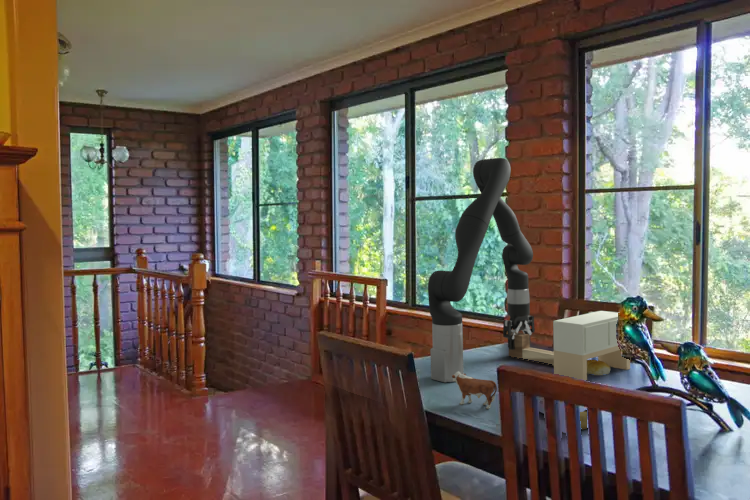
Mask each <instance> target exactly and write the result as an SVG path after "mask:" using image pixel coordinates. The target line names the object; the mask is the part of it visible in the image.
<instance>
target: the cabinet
mask: <svg viewBox="0 0 750 500" xmlns="http://www.w3.org/2000/svg"><path fill="white" fill-rule="evenodd" d="M618 313H619V312H617V311H606V310H597V311H593V312H590V313H589V312H588V313H584V314H579V315H575V316H570V317H565V318H562V319H561V318H560V319H557V320H553V321H552V323H553V326H552V327H553V328H552V329H553V352H554V365H553V375H554V374H559V375H564V376H569V377H574V378H577V379H583V380H587V381H588V374H587V360H591V359H594V358H596V357H597V361H603V362H605V363H606V364H608V365H609V367H610V368H615V369H619V370H620V369H621V370H625V371H626V370H630V369H631V359H630V360H629V359H626V358H624V357H622V356H621V353H620V349H619V347H618V344H617V339H616V324H617V320H618Z"/></svg>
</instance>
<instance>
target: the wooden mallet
mask: <svg viewBox="0 0 750 500" xmlns="http://www.w3.org/2000/svg"><path fill="white" fill-rule="evenodd" d="M512 334H513V333H512ZM512 334H511V335H512ZM514 339H515V349H514V350H510V349H509V348H508V357H509V356H511V357H510V358H514V357H517V358H516V359H519V358H523V359H522V360H524V359H528V360H527V361H529V360H534V361H539V362H544V363H548V364H547V365H549V364H552V365H551V366H554V351H551V350H546V349H541V348H535V347H531V335H530V336H529V334H524V333H522V332H518V333H517V334H516V335H515V338H514ZM534 361H533V362H534ZM539 362H538V363H539ZM544 363H543V364H544Z"/></svg>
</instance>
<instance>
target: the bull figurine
mask: <svg viewBox="0 0 750 500" xmlns="http://www.w3.org/2000/svg"><path fill="white" fill-rule="evenodd" d="M452 378H453V381H455V383H456V384H457V386H458V389H459V391H460V393H461V400H460V402H459V403H458V404H459V405H460V406H462V405H464V404H465V399H466V397H467V398H468V400H467V403H468V404H470V403H473V399H472V396H477V398H478V399H480V398H481V397H482V396H483V395H484V396H485V397H486V399H485V401H484V402H483V403H482V405H483V406H486V408H485V409H486V410H489V409H490V408H491V407H492V403H493V402H494V400H495V398H496V393H497V391H498V387H497V383H496V382H495V381H494V380H491V379H480V378H474V377H471V376H467V374H466V373H463V374H461V373H460V372H459V371H458V372H456V373H455V374H454V375H452Z"/></svg>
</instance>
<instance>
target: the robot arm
mask: <svg viewBox="0 0 750 500" xmlns="http://www.w3.org/2000/svg"><path fill="white" fill-rule="evenodd" d="M511 169H512V168H511V163H510V162H509V160H508V159H506V158H503V157H495V158H484V159H479V160H478V161H476V162H475V164H474V165H473V169H472V175H473V179H474V182H475V184H476V186H477V188H478V190H479V192H480V194H479V195H478V196H477V197H476V198H475V200H473V201H472V202H471V203H470V204H469V205H468V206H467V207H466V208H465V209H464V211H463V212H462V213H461V215H460V217H459V220H458V221H457V225H456V228H455V231H454V238H455V244H456V248H457V258H456V261H455V264H454V266H453V268H452V270H435V271H433V272H432V273H431V274H430V277H429V279H428V284H427V295H428V309H429V315H430V317H431V323H432V324H431V325H432V327H431V329H432V334H431V335H432V348H430V352H429V353H430V379H431V380H434V381H439V382H442V383H451V382H452V383H454V382H455V381H453V378H452V375H454V374H455V373H456V372H458V371H459V372H460V373H461V374H464V343H463V342H464V339H463V336H464V335H463V314H462V312H460V311H458V310H456V309H455V308H454V307H453V306H452V302H455V303H457V302H460V301H462V300H463V298H464V297H465V296H466V294H467V292H468V288H469V285H470V283H471V279H472V274H473V270H474V267H475V263H476V260H477V257H478V256H479V252H480V249H481V247H482V244H483V241H484V239H485V236H486V234H487V231H488V229H489V225H490V222H491V219H492V217H493V219H494V222H495V224H496V227H497V230H498V233H499V235H500V239H501V241H502V242H504V243H507V244H506V245H504V248H503V249H502V253H501V259H502V262H503V263H502V264H503V266H504V268H505V269H504V270H505V272H506V273H505V274H506V276H507V295H506V296H507V297H506V298H507V300H506V301H507V302H506V303H507V315H508V316H509V320H507V319H506V320H505V319H504V320H503V325H502V326H503V327H502V329H503V330H502V331H503V333H502V337H503V338H505V339H507V348H508V350H509V349H510V350H514V349H515V339H514V338H515V335H516V334H517V333H519V332H521V331H522V332H523V334H529V336H530V337H531V336H532V334H533V333H535V330H536V329H535V317H534V316H533V315H530V314H531V313H530V312H531V310H530V309H531V307H530V303H531V302H530V301H531V300H530V291H529V274H528V273H527V272H526V271H523V270H521V269H519V265H520V266H521V265H522V266H527V265H529V264H530V263H531V262H532V261H533V257H534V252H533V248H532V246H531V244H530V243H529V241H528V239H526V237H525V235H524V234H523V232H522V231H521V228H520V223H519V221H518V219H517V215H516V214H515V213H514V211H513V209H512V208H511V207H510V206H509V205H508V204H507V203H506V202H505V200H504V199H502V198H501V196H502V195H503V193H504V191H505V189H506V187H507V186H508V184H509V181H510V178H511V172H512V171H511ZM512 333H513V334H512ZM511 334H512V335H511ZM455 383H456V382H455Z"/></svg>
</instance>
